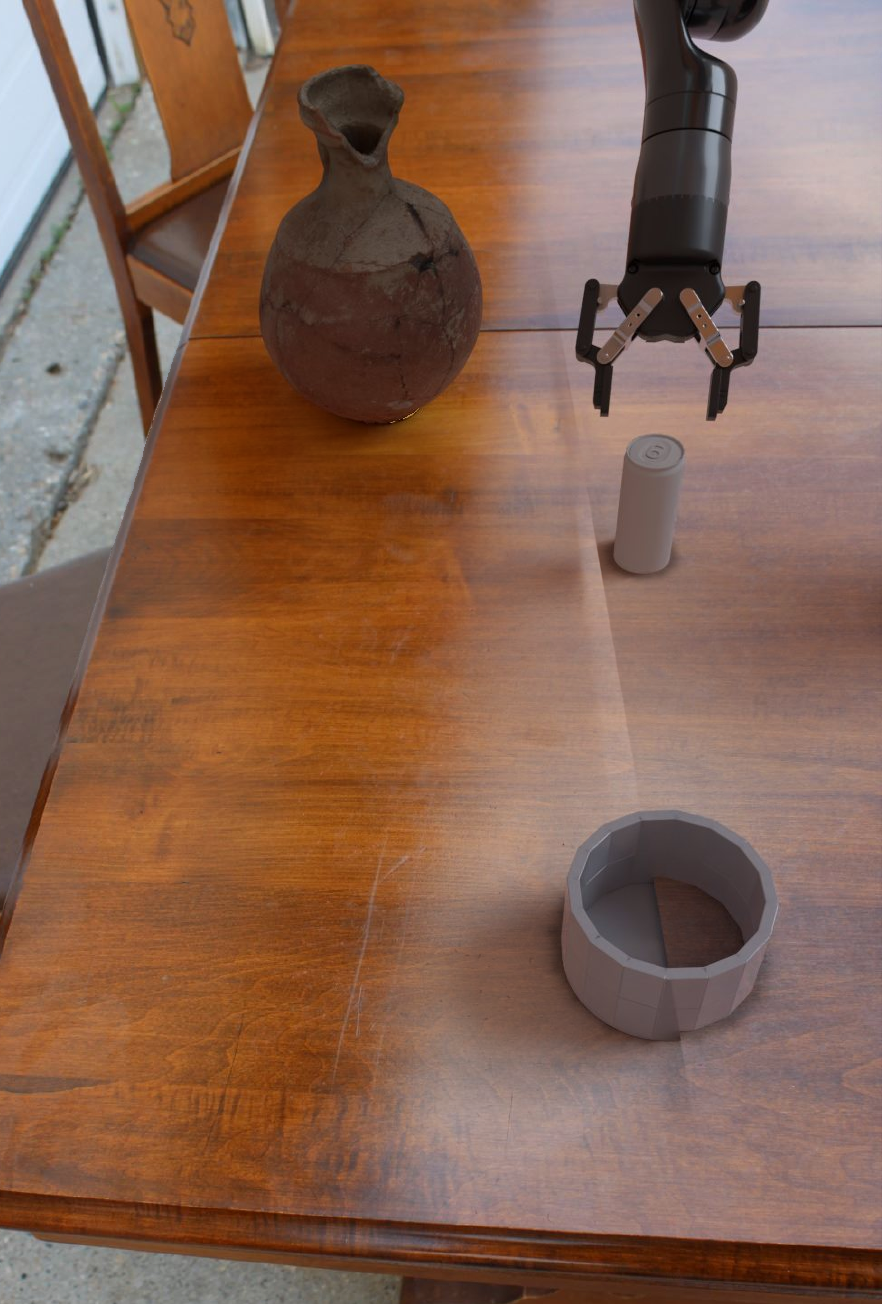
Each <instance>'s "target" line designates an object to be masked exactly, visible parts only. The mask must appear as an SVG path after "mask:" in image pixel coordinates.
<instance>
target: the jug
mask: <svg viewBox="0 0 882 1304" xmlns="http://www.w3.org/2000/svg"><path fill="white" fill-rule="evenodd" d="M405 99H406V97H405V92H404V91H403V89H402V87H401V86H400V85H399V84H398V83H396V82H394V81H391V80H389V79H387V78H385V77H382V75H381V74H380V73H379V72H378V71H377V70H376V69H375V68H374V67H373V66H371V65H370V64H364V63H363V64H362V63H354V64H352V63H351V64H346V65H341V66H335V67H332V68H329V69H325V70H323V71H320V72H319V73H316V74H314V75H313V76H311V77H309V78H308V79H307V80H305V81H304V82H303V84H302V85H301V86H300V88H299V90H298V91H297V93H296V101H297V104H298V115H299V118H300V121H302V123H303V125H304V126H305V127H306V128H307V129H309V130H311V131H312V132H313V134H314V137H315V138H316V146H317V151H318V154H319V157H320V162H321V164H322V168H323V170H322V178H321V180H320V182H319V184H318V186H317V187H316V188H315V189H314V190H312V192H310V193H309V194H307V195H306V196H304V197H303V198H302V199H300V200H299V201H298V202H296V203H295V205H293V206H292V207H291V208H290V209H289V210H288V211H287V212H286V213H285V215H283V217H282V219H281V221H280V223H279V225H278V226H277V229H276V233H275V236H274V239H273V241H272V243H271V246H270V249H269V251H268V252H269V253H268V255H267V257H266V261H265V265H264V270H263V274H262V279H261V285H260V291H259V300H258V301H259V302H258V318H259V319H258V320H259V327H260V334H261V337H262V340H263V343H264V346H265V349H266V351H267V353H268V355H269V357H270V360H271V361H272V363H273V364H274V366H275V367H276V370H278V372H279V373H280V374H281V376H282V377H283V378H284V380H285V381H286V382H287V383H288V384H289V385H290V386H291V387H292V388H293V389H294V390H295V391H296V392H297V393H298V394H300V396H301V397H303V398H305V400H308V401H309V402H311V403H312V404H314V405H315V406H317V407H318V408H321V409H322V410H324V411H325V412H329V413H331V414H334V415H335V416H338V417H341V418H345V419H350V420H354V421H358V422H359V421H362V422H364V423H365V424H366V423H367V424H366V425H369V424H368V423H370V424H376V423H375V422H378V423H377V424H388V423H387V422H393V421H397V420H399V419H403V418H405V417H407V416H408V415H410V414H412V413H414V412H415V411H416V410H417V409H418V408H420V407H421V408H423V407H425V406H427V405H429V404H430V403H431V402H433V401H434V400H436V399H437V398H438V397H439V396H441V395H442V394H443V393H444V392H445V391H446V390H447V389H448V388H449V387H450V386H451V384H452V383H453V382H454V381H456V379H457V377H458V376H459V375H460V374H461V372H462V370H464V368H465V366H466V364H467V362H468V361H469V359H470V357H471V355H472V353H473V351H474V349H475V347H476V344H477V341H478V338H479V336H480V333H481V332H480V331H481V326H482V322H483V321H482V320H483V310H484V306H483V305H484V298H483V297H484V295H483V284H482V279H481V275H480V271H479V267H478V264H477V260H476V258H475V254H474V252H473V249H472V248H471V246H470V244H469V242H468V240H467V238H466V236H465V234H464V233H463V231H462V229H461V228H460V226H459V224H458V223H457V221H456V220H455V217H454V215H453V213H452V211H451V210H450V208H449V206H447V204H446V203H445V202H444V201H443V200H441V198H440V197H438V196H437V195H436V194H434V193H432V192H431V191H430V190H428V189H426V188H425V187H422V186H420V185H418V184H415V183H412V182H410V181H407V180H406V179H405V180H404V179H402V178H399V177H396V176H393V174H392V170H391V167H390V163H389V148H388V147H389V143H390V139H391V137H392V135H393V133H394V131H395V129H396V127H397V126H398V124H399V119H400V117H399V116H400V113H401V110H402V108H403V105H404V103H405ZM421 408H420V409H421ZM397 422H398V421H397Z"/></svg>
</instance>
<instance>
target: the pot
mask: <svg viewBox="0 0 882 1304" xmlns="http://www.w3.org/2000/svg"><path fill="white" fill-rule="evenodd" d="M654 878H667V879H670V880H672V881H673V880H674V881H678V882H681V883H684V884H688V885H691V886H696V888H698V889H700V890H701V891H702V892H704V893H706V894H707V895H709V896H710V897H712V898H713V899H714V900H716V901H718V902H719V903H720V904H722V905H723V906H724V908H725V909H726V910H727V912H728V913H729V915H730V916H731V917H732V919H733V920H734V921H735V923H736V924H737V926H738V927H739V928H740V931H741V935H742V936H741V937H742V940H743V946H742V947H741V948H740V949H739V950H738V951H737V952H736V953H734V954H732V955H730V956H727V957H725V958H722V959H719V960H718V961H715V962H712V963H711V964H708V965H705V966H697V967H695V966H694V967H690V966H689V967H669V961H668V955H667V950H666V943H665V939H664V932H663V926H662V921H661V920H662V919H661V914H660V909H659V902H658V897H657V891H656V886H655V885H656V883H655V879H654ZM774 881H775V880H774V877H773V873H772V871H771V868H770V867H769V865H768V864H767V863H766V861H765V860H764V859H763V858H762V856H761V855H760V854H759V853H758V851H757V850H756V849H755V848H754V846H753V845H752V843H751V842H750V841H749V840H748V839H746V838H744V837H743V836H741V835H739V834H738V833H736V832H735V831H733V830H732V829H730V828H729V827H728V826H726V825H725V824H722V823H721V822H719V821H718V820H716V819H713V818H710V817H705V816H702V815H699V814H694V813H691V812H688V811H683V810H679V809H659V810H638V811H634V812H632V813H629V814H627V815H624V816H622V817H618V818H617V819H613V820H611V821H610V822H606V823H604V824H602V825H601V826H600V827H599V828H598V829H597V830H596V831H595V832H594V833H592V834H591V835H590V836H589V837H588V838H587V839H586V840H585V841H584V842H583V843H582V844H581V845H580V846H579V847H578V848H577V849H576V852H575V856H574V858H573V859H572V862H571V865H570V867H569V871H568V873H567V874H566V882H565V893H564V904H563V914H562V924H561V935H560V943H561V959H562V965H563V970H564V973H565V977H566V979H567V982H568V984H569V985H570V987H571V989H572V991H573V993H574V994H575V996H576V997H577V999H578V1000H579V1001H580V1002H581V1003H582V1005H584V1006H585V1008H586V1009H587V1010H588V1011H589V1012H591V1014H593V1015H594V1016H595V1017H596V1018H598V1019H599V1020H600V1021H602V1022H603V1023H605V1024H607V1025H608V1026H610V1027H612V1028H613V1029H616V1030H617V1031H619V1032H622V1033H624V1034H628V1035H629V1036H633V1037H636V1038H640V1039H644V1040H651V1041H657V1042H658V1041H659V1042H661V1041H662V1042H676V1041H682V1038H681V1032H693V1031H696V1030H699V1029H701V1028H704V1027H706V1026H708V1025H710V1024H713V1023H715V1022H718V1021H720V1020H723V1019H725V1018H727V1017H729V1016H730V1015H731V1014H732V1013H733V1012H734V1011H735V1010H736V1009H737V1008H738V1006H739V1005H740V1004H741V1003H742V1002H743V1001H744V1000H746V998H747V997H748V995H750V993H751V992H752V991H753V989H754V986H755V983H756V980H757V977H758V974H759V971H760V969H761V966H762V962H763V961H764V957H765V954H766V951H767V948H768V945H769V942H770V940H771V937H772V933H773V931H774V930H773V929H774V926H775V922H776V919H777V915H778V910H779V907H780V902H779V898H778V894H777V893H778V892H777V889H776V886H775V882H774Z"/></svg>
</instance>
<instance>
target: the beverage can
mask: <svg viewBox="0 0 882 1304" xmlns="http://www.w3.org/2000/svg"><path fill="white" fill-rule="evenodd" d="M686 459H687V457H686V448H685V445H684V444H683V443H682V441H680V440H679V439H677V438H676V437H674V436H672V435H668V434H664V433H646V434H643V435H639V436H637V437H635V438H633V439H631V441H630V442H629V443H628V445H627V446H626V450H625V452H624V455H623V463H622V470H621V471H622V472H621V482H620V491H619V499H618V509H617V518H616V526H615V527H616V528H615V536H614V545H613V554H612V556H613V559H614V562H615V563H616V564H617V566H618V567H620V568H621V569H622V570H624V571H627V572H629V573H633V574H640V575H641V574H642V575H646V574H647V575H648V574H654V573H656V572H660V571H661V570H663V569H664V568H666V566H667V565H669V562H670V559H671V553H672V547H673V540H674V534H675V528H676V522H677V516H678V509H679V504H680V498H681V493H682V487H683V482H684V481H683V480H684V475H685V467H686Z"/></svg>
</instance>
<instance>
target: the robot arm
mask: <svg viewBox="0 0 882 1304" xmlns="http://www.w3.org/2000/svg"><path fill="white" fill-rule="evenodd" d="M769 3H770V0H632V5H633V15H634V21H635V27H636V33H637V38H638V44H639V50H640V55H641V62H642V71H643V81H644V92H645V93H644V94H645V95H644V97H645V98H644V99H645V100H644V111H643V112H644V113H643V122H642V131H641V141H640V143H641V144H640V150H639V151H640V152H639V156H638V160H637V165H636V170H635V174H634V181H633V188H632V197H631V200H630V208H631V209H630V218H629V219H630V220H629V230H628V237H627V238H628V239H627V248H626V249H627V250H626V259H625V260H626V261H625V269H624V275H623V277H622V279H621V281H620V283H619V284H606V283H600V281H599V280H598V279H596V278H590V279H587V281H586V282H585V283H584V289H583V295H582V301H581V307H580V314H579V321H578V326H577V333H576V341H575V347H574V350H575V351H574V352H575V359H576V360H577V361H578V362H579V363H585V364H588V365H590V366H591V367H593V368H594V371H595V372H594V383H593V393H592V405H593V408H594V410H599V411H600V413H599V417H600V418H609V417H610V415H609V414H610V405H611V395H612V386H613V385H612V383H613V374H614V364H615V363H616V361H617V360H618V359H619V358H620V357H621V356H622V354H623V353H624V352H626V351H627V350H628V348H629V347H630V346H631V345H632V344H633V343H634V342H635V341H636V339H637V338H638V337H639V338H640V339H641V340H643V341H645V343H659V342H664V341H667V342H670V343H673V344H685V342H688V341H690V340H692V339H693V340H694V342H695V343H696V345H697V346H698V348H699V350H700V351H701V352H702V353H703V354H704V355H705V357H706V358H707V359H708V361H709V363H710V364H711V365H712V368H713V369H712V371H711V373H710V379H709V387H708V397H707V406H706V414H705V421H706V422H716V419H717V417H718V415H722V414H723V413H724V411H725V409H726V407H727V405H728V399H729V390H730V381H731V373H732V372H733V371H734V370H736V369H739V368H743V367H749V366H751V365H752V364H753V362H754V360H755V358H756V357H757V355H758V352H759V351H758V350H759V333H760V313H761V298H762V297H761V295H762V286H761V283H760V282H759V281H757V280H750V281H749V282H747V283H746V285H727V286H725V283H724V281H723V278H722V268H723V258H724V250H725V240H726V231H727V223H728V212H729V206H730V201H731V200H730V199H731V198H730V196H731V187H732V175H733V174H732V173H733V171H732V170H733V169H732V148H733V146H732V144H733V137H734V127H735V126H734V125H735V119H736V110H737V101H738V92H739V88H738V87H739V83H738V76H737V73H736V71H735V69H734V68H733V67H732V66H731V65H730V64H729V63H728V62H726V61H725V60H722V59H721V58H719V57H717V56H714V55H712V54H710V53H708V52H707V51H705V50H703V49H702V48H700V47H699V46H698V45H697V44H695V42H694V41H693V39H694V40H702V41H709V42H717V43H732V42H737V41H738V40H741V39H743V38H744V37H746V36H747V35H749V34H750V33H751V32H753V30H755V28H756V27H757V26H758V25H759V24H760V23H761V21H762V20H763V18H764V16H765V14H766V11H767V9H768V6H769ZM613 301H616V302H617V305H618V306H619V308H620V310H621V311H622V313H623V314H624V316H625V318H624V320H623V321H622V322H621V324H619V325H618V327H617V328H616V329H615V330H614V332H613V334H612V335H611V336H610V338H609V339H608V340H607V341H606V342H605V344H604V345H603V346H602V347H600V346H598V345H595V344H593V341H594V334H595V327H596V322H597V321H596V320H597V314H604V313H605V312H606V311H607V309H608V307H609V305H610V303H611V302H613ZM723 303H728V304H729V306H730V308H731V313H732V314H733V315H734V316H737V317H739V334H738V335H739V336H738V337H739V338H738V348H735V349H732V350H730V349H729V347H728V345H727V343H725V341H724V340H723V338H722V335H721V332H720V330H719V329H718V327H717V326H716V324H715V322H714V321H713V319H712V317H713V315H715V313H716V312H717V311H718V310H719V308H720V307H721V306H722V305H723Z"/></svg>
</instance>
